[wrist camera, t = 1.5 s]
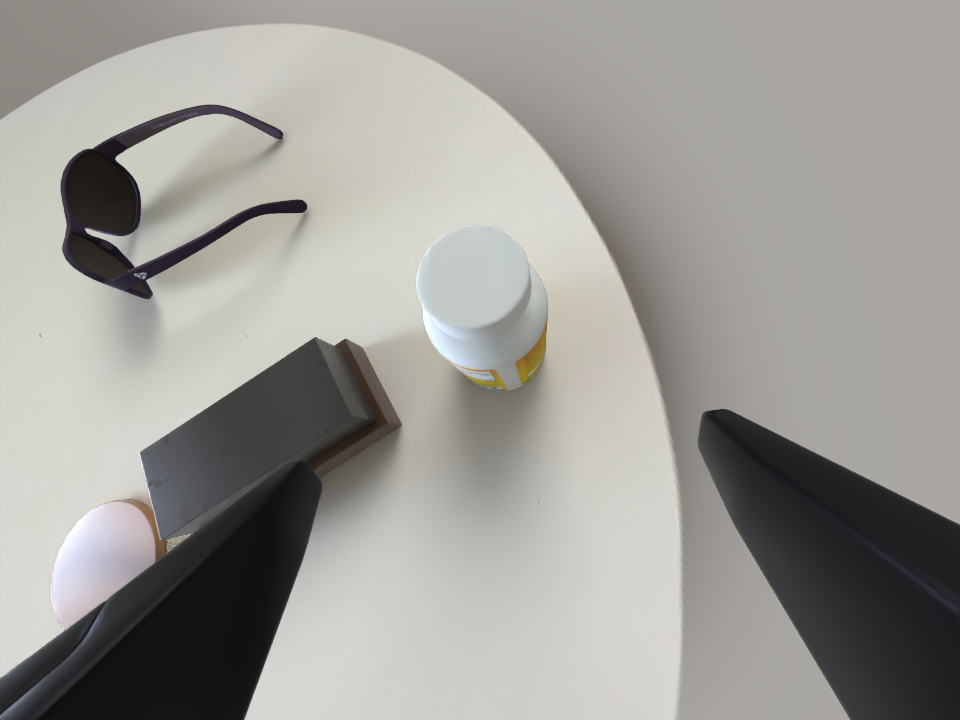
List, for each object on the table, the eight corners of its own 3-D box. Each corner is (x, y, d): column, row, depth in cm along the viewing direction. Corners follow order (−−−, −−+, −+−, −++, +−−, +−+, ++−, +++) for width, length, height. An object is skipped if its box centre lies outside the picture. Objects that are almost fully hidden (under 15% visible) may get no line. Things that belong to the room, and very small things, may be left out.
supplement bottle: (473, 405, 20) (415, 373, 11) (449, 325, 22) (380, 239, 13) (559, 375, 20) (574, 317, 11) (529, 296, 21) (518, 184, 12)
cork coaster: (164, 624, 20) (153, 629, 20) (57, 646, 21) (43, 652, 21) (167, 487, 23) (158, 488, 22) (70, 513, 24) (58, 514, 23)
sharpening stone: (362, 346, 23) (319, 324, 18) (402, 424, 21) (365, 419, 16) (207, 448, 23) (129, 449, 19) (233, 533, 21) (154, 556, 17)
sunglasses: (126, 198, 30) (48, 153, 26) (276, 112, 29) (225, 48, 25) (146, 324, 26) (58, 299, 22) (320, 230, 25) (268, 181, 21)
